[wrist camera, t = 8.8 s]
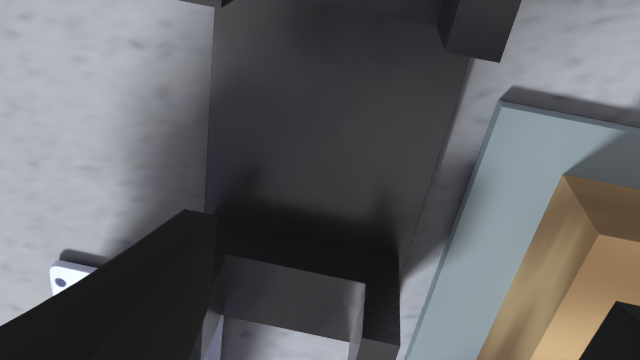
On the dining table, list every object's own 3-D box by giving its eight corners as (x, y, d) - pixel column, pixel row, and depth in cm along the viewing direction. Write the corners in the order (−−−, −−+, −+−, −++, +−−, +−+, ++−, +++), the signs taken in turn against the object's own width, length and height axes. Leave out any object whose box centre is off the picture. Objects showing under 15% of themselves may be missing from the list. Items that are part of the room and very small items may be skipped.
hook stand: (381, 324, 22) (378, 434, 18) (205, 286, 22) (157, 386, 18) (531, -160, 13) (606, -188, 9) (234, -213, 13) (152, -270, 9)
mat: (539, 485, 26) (542, 497, 26) (371, 448, 27) (371, 459, 26) (770, 153, 16) (783, 162, 16) (498, 100, 17) (501, 106, 16)
